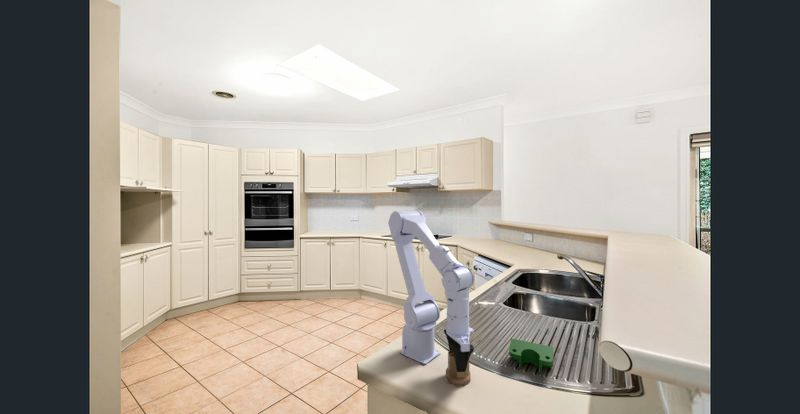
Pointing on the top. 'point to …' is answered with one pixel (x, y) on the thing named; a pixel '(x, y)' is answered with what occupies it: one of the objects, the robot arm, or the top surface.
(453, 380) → the walnut stand
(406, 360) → the top surface
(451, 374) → the bronze collar
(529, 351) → the clamp
